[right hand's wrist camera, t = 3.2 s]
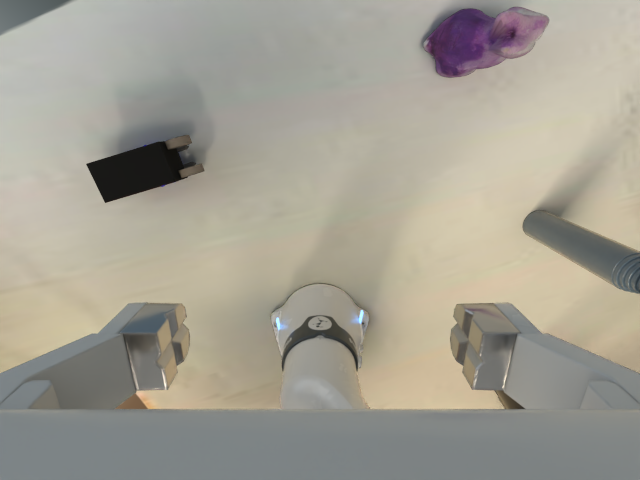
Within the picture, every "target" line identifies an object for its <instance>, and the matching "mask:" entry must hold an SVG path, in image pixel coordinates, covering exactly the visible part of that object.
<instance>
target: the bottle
mask: <svg viewBox="0 0 640 480" xmlns="http://www.w3.org/2000/svg"><path fill="white" fill-rule="evenodd" d="M523 230H524V232H525V234H526V235H528V236H529V237H531V238H533V239H534V240H536V241H538V242H540V243H541V244H543V245H545V246H546V247H548V248H550V249H552V250H553V251H555V252H557V253H558V254H560V255H562V256H564V257H565V258H567V259H569V260H570V261H572V262H574V263H576V264H577V265H579V266H581V267H582V268H584V269H586V270H588V271H589V272H591V273H593V274H594V275H596V276H598V277H600V278H601V279H603V280H605V281H606V282H608V283H610V284H612V285H613V286H615V287H617V288H619V289H622V290H624V291H628V292H633V293H638V294H640V251H638V250H635V249H633V248H631V247H628V246H626V245H623V244H621V243H619V242H616V241H614V240H612V239H609V238H607V237H605V236H602V235H600V234H598V233H595V232H593V231H591V230H588V229H586V228H584V227H581V226H579V225H577V224H574V223H572V222H570V221H567V220H565V219H563V218H560V217H558V216H556V215H553V214H551V213H549V212H546V211H543V210H538V211H534V212H532V213H531V214H529V215H528V216H527V217H526V219H525V220H524V223H523Z"/></svg>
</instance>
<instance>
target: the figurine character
mask: <svg viewBox="0 0 640 480" xmlns="http://www.w3.org/2000/svg"><path fill="white" fill-rule="evenodd" d="M191 143H192V142H191V139H190V136H189V135H185V136H180V137H177V138H173V139H170V140H167V141H163V142H156V143H153V144H150V145H144V146H143V147H140V148H137V149H133V150H130V151H127V152H124V153H120V154H117V155H114V156H111V157H107V158H104V159H101V160H98V161H94V162H91V163H88V164H86V165H87V167H88V169H89V171H90V173H91V175H92V177H93V179H94V181H95V183H96V185H97V187H98V189H99V191H100V193H101V195H102V197H103V199H104V201H105V203H107V202H110V201H113V200H117V199H120V198H123V197H127V196H130V195H133V194H137V193H140V192H143V191H147V190H150V189H153V188H157V187H160V186H161V187H163V186H165V185H167V184H170V183H173V182H176V181H179V180H182V179H185V178H187V177H188V176H190V175H193V174H197V173H200V172H203V171H204V168H203V166H202V164H199V165H195V164H196V163H194V162H190V163H187V164H184V165H183V164H182V161H181V159H180V156H179V154H178V152H180V151H183V150H186V149H187V148H188V147H189V146H187V145H188V144H191ZM194 165H195V166H194Z"/></svg>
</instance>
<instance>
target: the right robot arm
mask: <svg viewBox="0 0 640 480" xmlns="http://www.w3.org/2000/svg"><path fill="white" fill-rule="evenodd" d="M186 317H187V315H186V310H185V306H184V305H183V304H181V303H129V304H128V305H127V306H126V307H125V308H124V309H123V310H122V311H120V312H119V313H118V314H117V315H116V316H115V317H114V318H113V319H112V320H111V321H110V322H109V323H108V324H107V325H106V326H105V327H104V328H103V329H102V330H101V331H100V332H99V333H98V334H90V335H88V336H86V337H83V338H81V339H79V340H76V341H74V342H72V343H69V344H67V345H65V346H63V347H60V348H58V349H56V350H53V351H51V352H49V353H46V354H44V355H42V356H39V357H37V358H35V359H32V360H30V361H28V362H26V363H23V364H21V365H19V366H16V367H14V368H12V369H9V370H7V371H5V372H2V373H0V480H640V373H637V372H635V371H633V370H630V369H628V368H626V367H623V366H621V365H619V364H617V363H614V362H612V361H610V360H607V359H605V358H603V357H600V356H598V355H596V354H594V353H591V352H589V351H587V350H584V349H582V348H580V347H577V346H575V345H573V344H570V343H568V342H566V341H564V340H561V339H559V338H557V337H554V336H552V335H550V334H542V333H541V332H540V331H539V330H538V329H537V328H536V327H535V326H534V325H533V324H532V323H531V322H530V321H529V320H528V319H527V318H526V317H525V316H524V315H523V314H522V313H521V312H520V311H519V310H518V309H517V308H515V307H514V306H513V305H512V304H510V303H508V302H507V303H474V304H457V305H456V307H455V309H454V315H453V317H454V318H455V320H456V322H457V324H456V325H455V326H454V327H453V328H452V329H451V336H450V343H451V350H452V353H453V356H454V358H455V360H456V361H457V362H458V363H460V364H461V365H463V374H464V376H465V378H466V379H467V381H468V383H469V385H470V387H471V388H472V390H503V391H504V393H506V394H507V395H508V396H510V397H511V398H512V399H513V400H515V401H516V402H517V403H519V404H520V405H521V406H522V407H524V408H525V409H370V408H369V406H368V405H367V403H366V402H365V400H364V398H363V396H362V392H361V389H360V385H359V381H358V376H357V370H358V368H361V364H362V356H360V355H359V353H362V352H363V345H362V343H363V339H364V336H365V333H366V329H367V326H368V322H369V314H368V313H367V312H366V311H365V310H363V309H361V308H360V307H358V306H357V305H356V304H355V303H354V301H353V300H352V299H351V297H350V296H349V295H348V294H347V293H346V292H344V291H343V290H341V289H339V288H337V287H335V286H332V285H327V284H313V285H308V286H305V287H303V288H301V289H299V290H297V291H296V292H294V293H293V294H292V295H291V296H290V297H289V299H288V300H287V301H286V303H285V304H284V305H283V306H282V307H280V308H279V309H277V310H275V311H274V312H273V313H272V314H271V322H272V326H273V329H274V333H275V336H276V339H277V343H278V346H279V350H280V353H281V357H282V370H283V378H282V385H281V392H280V407H281V409H115V408H116V407H118V406H119V405H120V404H122V403H123V402H124V401H125V400H127V399H128V398H129V397H131V396H132V395H133V394H134V393H136V391H137V390H168V388H169V387H170V385H171V383H172V381H173V379H174V378H175V376H176V374H177V365H179V364H180V363H182V362H183V361H184V360H185V358H186V356H187V353H188V349H189V345H190V335H189V329H188V328H187V327H186V326H185V325H184V324H183V322H184V320H185V318H186ZM361 322H363V323H361Z"/></svg>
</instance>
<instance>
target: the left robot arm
mask: <svg viewBox="0 0 640 480" xmlns="http://www.w3.org/2000/svg"><path fill="white" fill-rule="evenodd" d="M495 392H496V393H497V395H498V396H499V399H500V401H501V403H502V404H503V406H504V407H505V409H525V408H524V407H522V406H521V405H520V404H519V403H517V402H516V401H515V400H513V399H512V398H511V397H510V396H508V395H507V394H506V393H504V391H503V390H495Z"/></svg>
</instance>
